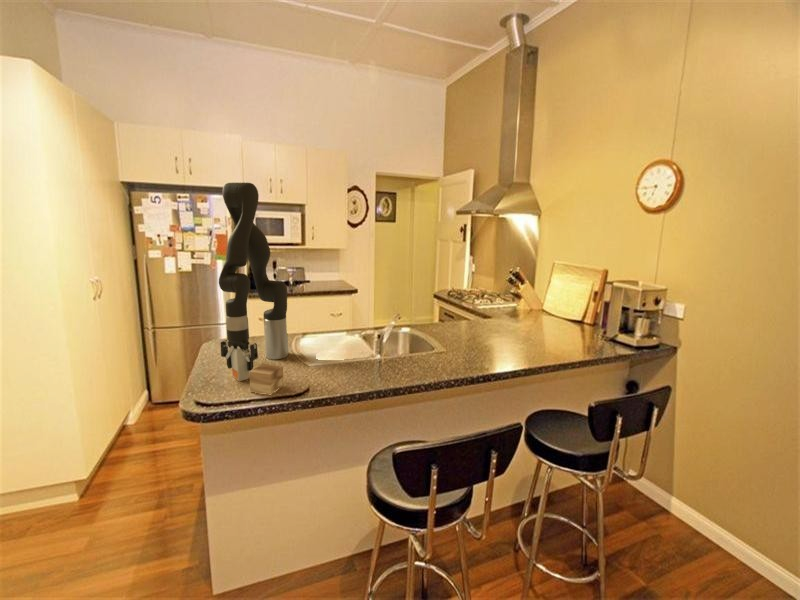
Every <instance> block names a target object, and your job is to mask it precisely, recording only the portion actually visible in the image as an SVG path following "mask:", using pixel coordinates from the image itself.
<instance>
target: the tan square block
mask: <svg viewBox="0 0 800 600" xmlns="http://www.w3.org/2000/svg"><path fill="white" fill-rule="evenodd" d="M282 377H283V378H284V367H283V365H276V364H269V363H262V364H260V365H258V366H257V367H255V368H253V369H252V370H251V371H249V384H250V383H257V384H263V385H272V384H273V383H275V382H276V381H278V380H279V379H281V378H282Z"/></svg>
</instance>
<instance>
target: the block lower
mask: <svg viewBox="0 0 800 600" xmlns="http://www.w3.org/2000/svg"><path fill="white" fill-rule="evenodd" d="M282 386H283V387H284V376H283V377H282V378H281V379H279V380H278V381H276V382H275V383H273V384H272V385H263V384H257V383H250V382H249V391H250V392H256V393H266V394H271V393H273V392H274V391H276V390H277V389H278V388H280V387H282ZM283 387H282V388H283ZM256 393H255V394H256Z"/></svg>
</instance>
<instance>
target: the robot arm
mask: <svg viewBox="0 0 800 600" xmlns="http://www.w3.org/2000/svg"><path fill="white" fill-rule="evenodd" d="M258 190H259V189H258V188H257V187H256V186H255V184H254V183H251V182H227V183H225V184H224V185H223V187H222V198H223V201H224V204H225V207H226V209H227V211H228V213H229V214H230V216H231V218H232V222H233V223H234V225H235V228H234V230H232V233H231V234H230V235H229V238H228V241H227V244H226V255H225V262H224V264H223V267H222V269H221V272H220V274H219V278H218V287H219V288H220V289H221V291H223V292H225V293H234V294H235V296H234V298H229V299H227V300H226V302H225V313H226V314H225V315H226V317H225V318H226V319H225V324H226V327H225V328H226V338H227V339H224V340H222V341H220V356H221V358H225V359H226V367H227V368H228V369H231V370H232V364H231V354H232V351H233V349H234V348H236V349H238V350H242V355H243V357H245V358H246V360H247V370H248V371H251V370H253V369H254V361H256V360H257V359H258V358H259V353H258V343H256V342H254V343H250V341H249V339H250V332H249V330H250V329H249V319H248V318H249V317H248V310H247V309H248V307H247V304H248V298H249V293H250V290H251V289H250V288H251V280H250V278H249V276H248V275H247V274H245V273H239V272H237V270H238V269H239V268H242V267H245V266H246V265H247V263H248V264H249V267H250V269H251V272H252V275H253V280H254V285H255V288H256V292H257V294H258V297H259V299H260V300H261V301H263V302H266V303H273V307H272V308H270V309H267V310H265V311H264V312H263V325H264V327H263V329H264V332H263V333H264V348H265V349H264V350H265V358H266V359H268V360H282V359H285V358H287V357H288V355H289V342H288V341H289V338H288V337H289V336H288V330H287V311H288V287H287V285H286V283H285V281H282V280H270V279H269V276H268V274H267V267H268V264H269V262H270V258H271V248H270V245H269V242H268V239H267V237H266V235H265V233H264V232H263V231H262V230H261V229H260V228H259V227H258V226H257V225H256V224H255V223H254V222H255V217H256V213H257V208H258V204H259V196H260V195H259V191H258ZM236 272H237V273H236ZM243 349H244V351H245V350H246V349H248V353H245V352H244V351H243Z"/></svg>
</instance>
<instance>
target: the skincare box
mask: <svg viewBox="0 0 800 600" xmlns="http://www.w3.org/2000/svg"><path fill="white" fill-rule="evenodd" d="M243 351H244V349H243ZM244 352H245V353H248V349H246V350H245V351H244ZM231 364H232V368H231V376H232V378H234V379H235V380H237V381H238V382H242V381H245V380H250V376H249V371H248V370H247V360H246V358H245V357H243V355H242V350H238V349H236V348H234V349H233V351H232V354H231Z"/></svg>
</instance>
